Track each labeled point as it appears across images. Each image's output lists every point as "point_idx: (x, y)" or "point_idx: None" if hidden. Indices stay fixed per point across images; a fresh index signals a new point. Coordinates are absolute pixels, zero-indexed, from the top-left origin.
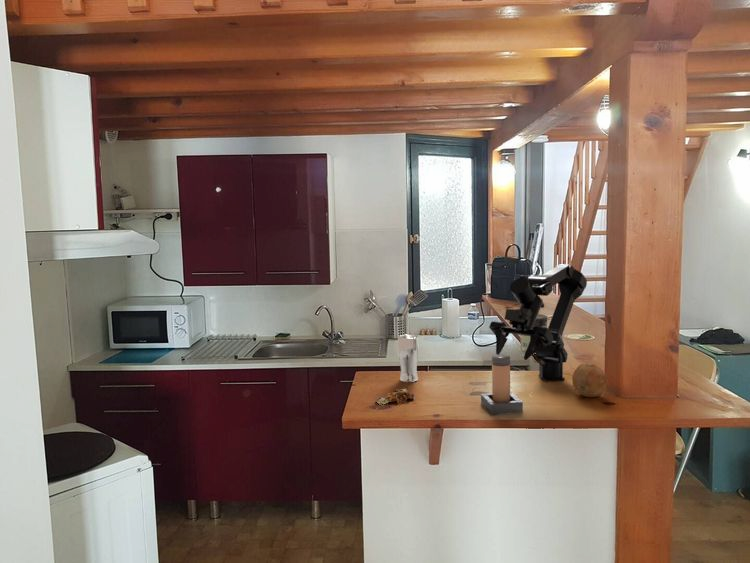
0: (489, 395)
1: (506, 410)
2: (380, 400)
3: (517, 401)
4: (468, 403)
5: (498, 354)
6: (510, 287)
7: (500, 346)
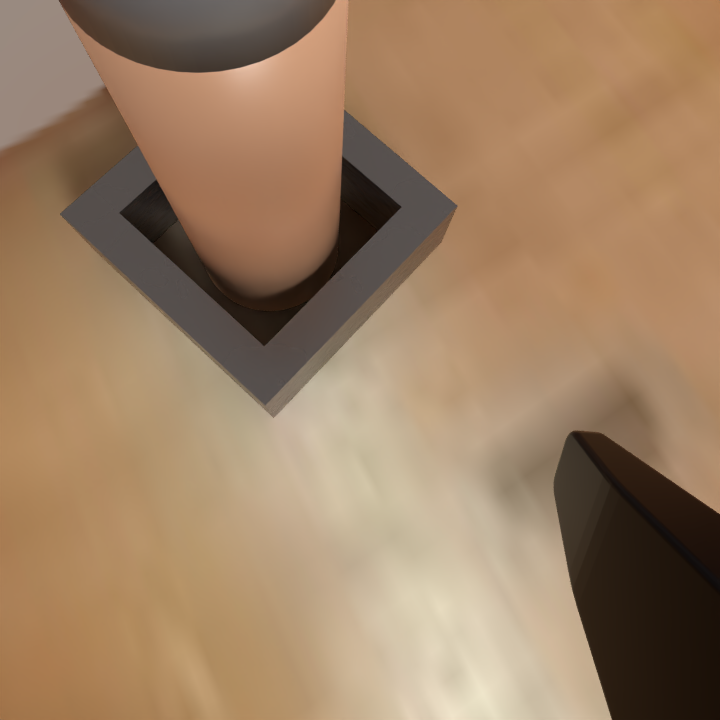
0: (384, 225)
1: None
2: None
3: (102, 199)
4: (525, 205)
5: (556, 482)
6: None
7: (649, 625)
